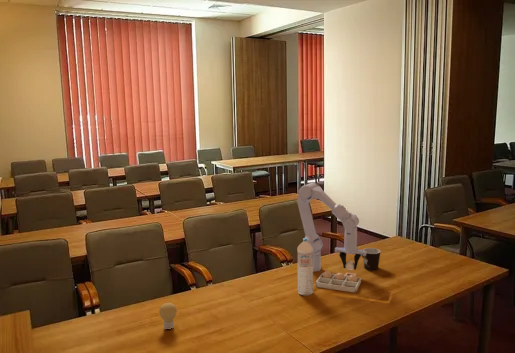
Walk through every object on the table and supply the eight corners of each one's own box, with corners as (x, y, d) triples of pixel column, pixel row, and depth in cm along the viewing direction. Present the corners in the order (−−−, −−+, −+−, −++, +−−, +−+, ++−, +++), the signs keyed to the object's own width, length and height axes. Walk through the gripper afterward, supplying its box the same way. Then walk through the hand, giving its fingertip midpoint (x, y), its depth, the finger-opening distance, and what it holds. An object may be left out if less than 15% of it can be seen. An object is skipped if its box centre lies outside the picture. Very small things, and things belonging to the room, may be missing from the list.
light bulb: (170, 322, 171) (168, 298, 170) (181, 327, 167) (179, 302, 166) (157, 329, 166) (155, 304, 165) (167, 334, 162) (166, 309, 161)
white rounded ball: (344, 271, 208) (344, 262, 207) (346, 267, 211) (346, 259, 211) (353, 272, 206) (353, 263, 205) (355, 269, 210) (355, 260, 209)
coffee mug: (382, 273, 214) (382, 253, 212) (364, 273, 214) (364, 253, 213) (376, 264, 226) (376, 245, 224) (359, 264, 226) (359, 246, 224)
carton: (315, 288, 199) (315, 277, 198) (322, 278, 210) (322, 268, 209) (355, 294, 191) (355, 283, 190) (361, 283, 202) (361, 273, 202)
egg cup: (342, 279, 208) (343, 276, 208) (345, 275, 213) (345, 271, 213) (354, 281, 206) (354, 277, 205) (357, 276, 211) (357, 273, 210)
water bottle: (295, 294, 193) (294, 240, 189) (301, 288, 199) (300, 235, 195) (309, 297, 190) (309, 242, 186) (315, 291, 196) (315, 237, 192)
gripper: (333, 241, 205) (332, 269, 208) (364, 245, 200) (363, 273, 202) (336, 237, 212) (336, 263, 214) (367, 240, 206) (366, 268, 208)
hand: (350, 268), depth 208 cm, fingers closed on white rounded ball, 4 cm apart
